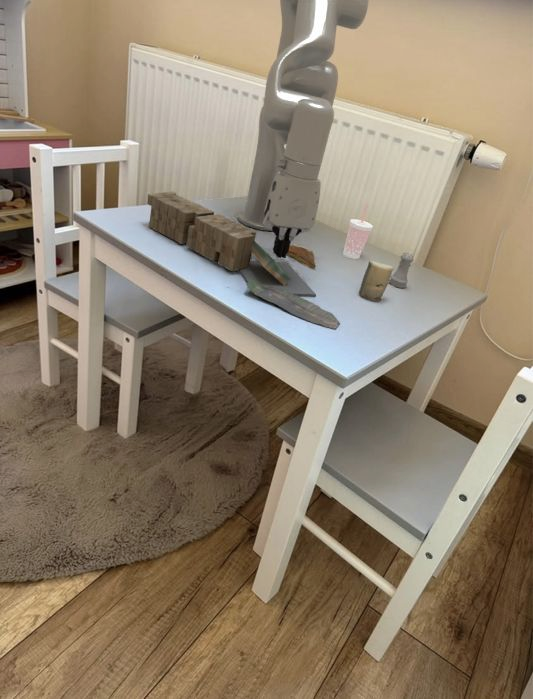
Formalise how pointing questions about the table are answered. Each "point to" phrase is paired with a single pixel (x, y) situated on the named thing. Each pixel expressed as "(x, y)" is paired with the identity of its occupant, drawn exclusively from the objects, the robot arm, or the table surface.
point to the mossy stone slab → (294, 304)
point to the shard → (302, 255)
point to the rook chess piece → (402, 271)
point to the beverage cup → (357, 237)
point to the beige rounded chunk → (375, 280)
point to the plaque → (269, 263)
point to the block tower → (201, 230)
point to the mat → (265, 278)
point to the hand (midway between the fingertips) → (279, 255)
